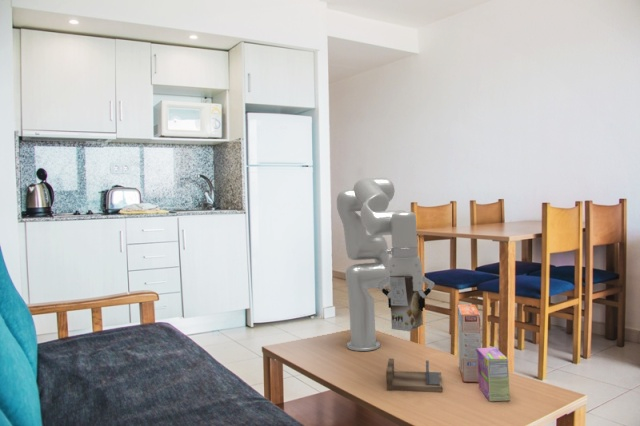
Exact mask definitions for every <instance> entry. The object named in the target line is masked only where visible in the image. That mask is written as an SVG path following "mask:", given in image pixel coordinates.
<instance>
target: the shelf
mask: <svg viewBox="0 0 640 426" xmlns="http://www.w3.org/2000/svg"><path fill="white" fill-rule="evenodd" d="M385 377H386V381H385V382H386V391H398V392H426V393H427V392H428V393H430V392H431V393H443V392H444V391H443V377H442V372H440V371H439V380H440V386H433V385H426V371H406V370H405V371H403V370H402V371H401V370H395V359H394V358H388V362H387V366H386V371H385Z"/></svg>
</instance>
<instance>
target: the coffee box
mask: <svg viewBox="0 0 640 426" xmlns="http://www.w3.org/2000/svg"><path fill="white" fill-rule="evenodd" d="M389 291H390V292H391V308H390V315H391V316H390V318H391V319H390V320H391V322H390V323H391V330H395V331H396V330H397V331H403V332H412V331H413V330H416V329H417V328H419V327H421V326H423V325H424V318H423V317H424V316H423V311H421V310H420V297H421V295H420V294H419V292H418V291H413V276H390V289H389Z"/></svg>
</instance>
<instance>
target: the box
mask: <svg viewBox="0 0 640 426" xmlns="http://www.w3.org/2000/svg"><path fill="white" fill-rule="evenodd" d="M477 358H478V376H479V382H478V388H479V389H480V391H481V392H482V393H483V395H484V396H485V397H486V398H487V400H488V401H489V402H508V401H510V377H509V375H510V374H509V373H510V372H509V371H510V370H509V369H510V368H509V358H508V357H507V356H506V355H504V354H503V352H501V351H500V350H499V349H498V348H497V347H481V348H477Z"/></svg>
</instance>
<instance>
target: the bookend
mask: <svg viewBox="0 0 640 426" xmlns="http://www.w3.org/2000/svg"><path fill="white" fill-rule="evenodd" d="M429 364H430V362H429V360H425V372H426V385H433V386H440V380H439V372H440V371H439V372H437V371H430V365H429Z"/></svg>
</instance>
